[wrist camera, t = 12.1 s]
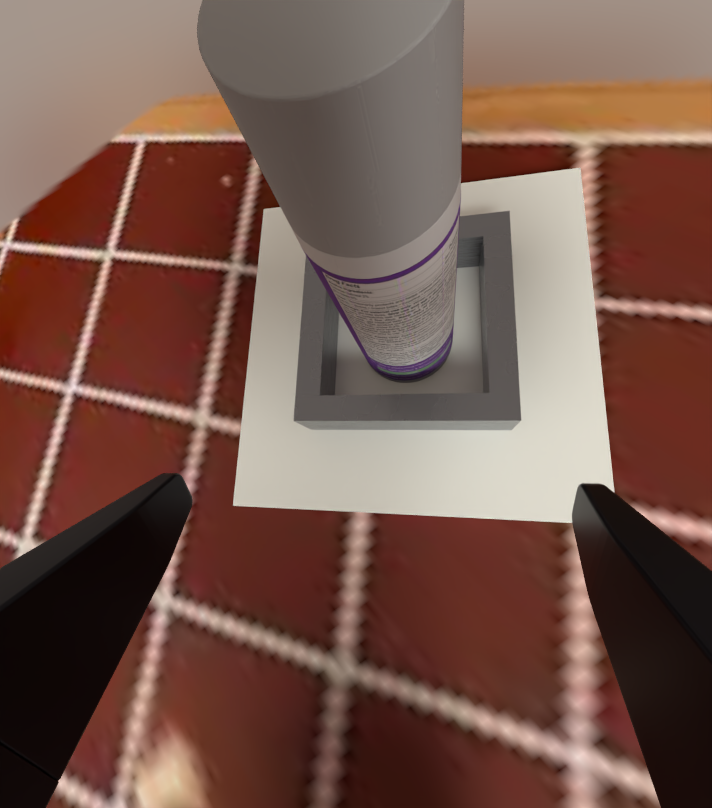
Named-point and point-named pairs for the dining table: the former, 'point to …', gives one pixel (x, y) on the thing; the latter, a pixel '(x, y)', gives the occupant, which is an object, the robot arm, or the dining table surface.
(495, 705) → the dining table surface
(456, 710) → the dining table surface
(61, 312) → the dining table surface
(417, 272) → the container
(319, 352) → the collar
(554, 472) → the mat
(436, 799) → the dining table surface
